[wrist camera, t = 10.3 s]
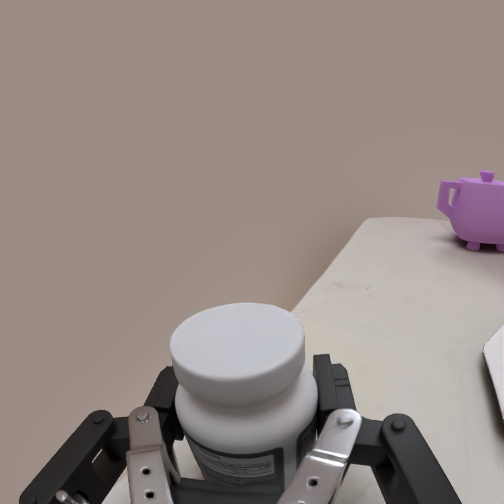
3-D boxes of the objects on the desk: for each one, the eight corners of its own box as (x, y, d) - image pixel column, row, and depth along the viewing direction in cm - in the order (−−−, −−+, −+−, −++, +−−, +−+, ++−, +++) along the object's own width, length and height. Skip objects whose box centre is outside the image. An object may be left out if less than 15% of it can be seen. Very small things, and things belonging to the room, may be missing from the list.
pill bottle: (267, 424, 17) (254, 283, 14) (333, 475, 13) (357, 328, 10) (189, 468, 14) (134, 328, 11) (248, 536, 10) (207, 420, 6)
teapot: (441, 252, 41) (444, 169, 37) (430, 231, 52) (431, 164, 48) (539, 257, 33) (547, 180, 29) (515, 236, 43) (519, 172, 39)
